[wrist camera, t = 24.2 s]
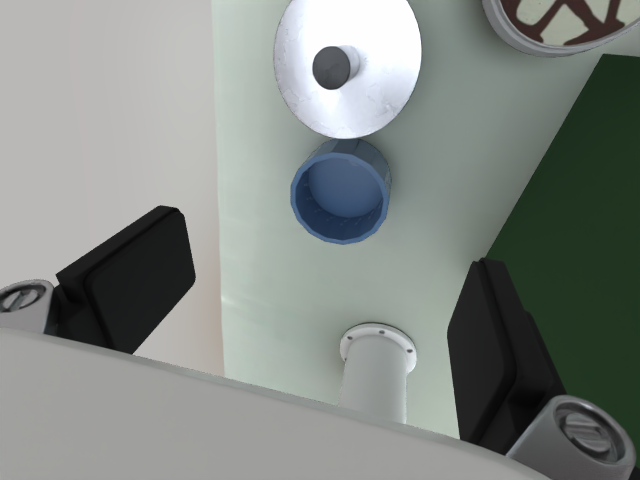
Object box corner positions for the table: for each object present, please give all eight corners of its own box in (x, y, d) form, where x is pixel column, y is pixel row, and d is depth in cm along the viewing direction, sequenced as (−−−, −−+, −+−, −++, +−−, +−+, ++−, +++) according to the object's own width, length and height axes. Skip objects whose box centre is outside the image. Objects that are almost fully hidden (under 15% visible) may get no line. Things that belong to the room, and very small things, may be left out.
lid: (405, 143, 29) (404, 166, 24) (278, 128, 31) (252, 147, 26) (438, -28, 23) (446, -47, 18) (276, -32, 25) (240, -51, 20)
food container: (439, 29, 31) (449, 26, 23) (472, -54, 28) (499, -93, 20) (565, 71, 31) (622, 83, 22) (615, -9, 27) (705, -30, 19)
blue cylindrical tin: (383, 225, 43) (380, 251, 38) (304, 213, 45) (290, 236, 40) (398, 142, 37) (396, 159, 32) (306, 132, 39) (290, 146, 34)
